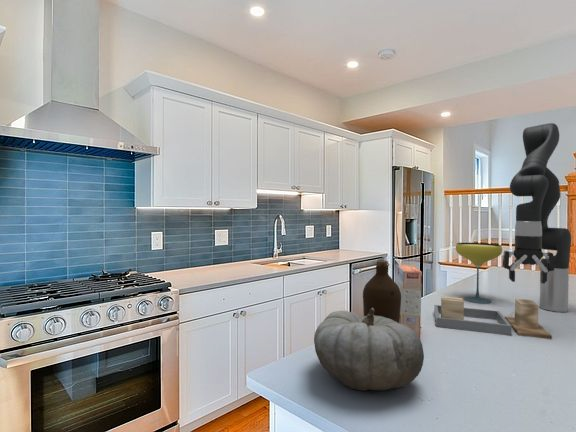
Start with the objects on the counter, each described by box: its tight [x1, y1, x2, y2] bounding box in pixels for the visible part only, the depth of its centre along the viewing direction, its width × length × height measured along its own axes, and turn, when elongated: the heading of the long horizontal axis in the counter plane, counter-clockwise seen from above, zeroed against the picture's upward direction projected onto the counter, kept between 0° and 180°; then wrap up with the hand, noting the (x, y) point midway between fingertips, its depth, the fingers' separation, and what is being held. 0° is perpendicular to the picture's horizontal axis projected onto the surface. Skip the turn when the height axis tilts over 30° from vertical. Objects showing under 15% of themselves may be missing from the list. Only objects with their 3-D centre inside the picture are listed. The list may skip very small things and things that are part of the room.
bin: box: [433, 304, 513, 336], centre depth 123 cm, size 18×22×3 cm
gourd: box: [313, 308, 425, 392], centre depth 81 cm, size 25×25×17 cm
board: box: [504, 315, 553, 340], centre depth 117 cm, size 18×9×1 cm, turn 159°
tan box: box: [514, 298, 539, 329], centre depth 117 cm, size 5×7×8 cm
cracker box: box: [397, 264, 423, 339], centre depth 114 cm, size 14×6×21 cm, turn 168°
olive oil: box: [362, 259, 401, 323], centre depth 99 cm, size 11×11×25 cm
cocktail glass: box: [455, 242, 503, 304], centre depth 154 cm, size 18×18×25 cm
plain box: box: [440, 296, 465, 320], centre depth 124 cm, size 5×7×8 cm
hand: (527, 282), depth 117 cm, fingers open, 8 cm apart
